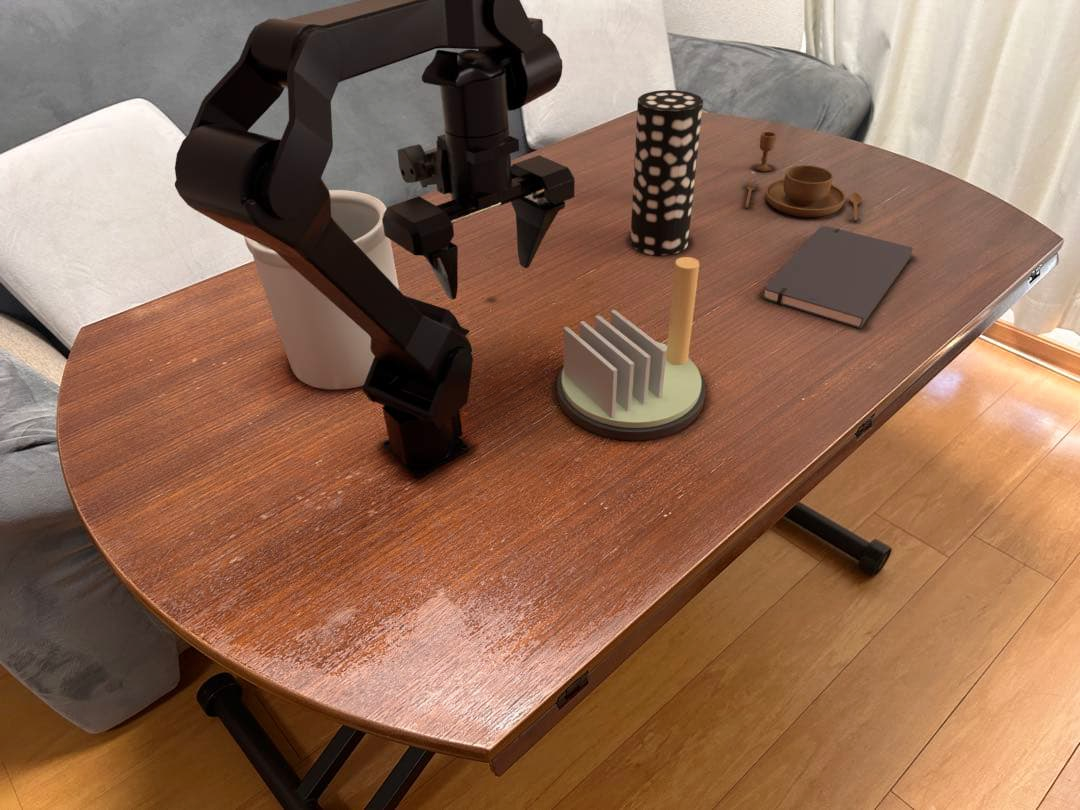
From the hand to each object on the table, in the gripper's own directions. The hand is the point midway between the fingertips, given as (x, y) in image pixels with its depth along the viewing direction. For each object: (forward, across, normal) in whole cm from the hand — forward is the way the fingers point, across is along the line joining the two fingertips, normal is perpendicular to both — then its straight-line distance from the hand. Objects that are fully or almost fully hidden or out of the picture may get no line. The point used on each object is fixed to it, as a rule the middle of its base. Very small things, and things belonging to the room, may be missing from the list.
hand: (489, 281), depth 77 cm
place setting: (+13, -67, -7) cm, 69 cm away
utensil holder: (+13, +10, -16) cm, 23 cm away
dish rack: (+12, -10, +11) cm, 19 cm away
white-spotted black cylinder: (+13, -38, -11) cm, 42 cm away
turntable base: (+13, -10, +11) cm, 20 cm away
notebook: (+13, -48, +12) cm, 51 cm away
